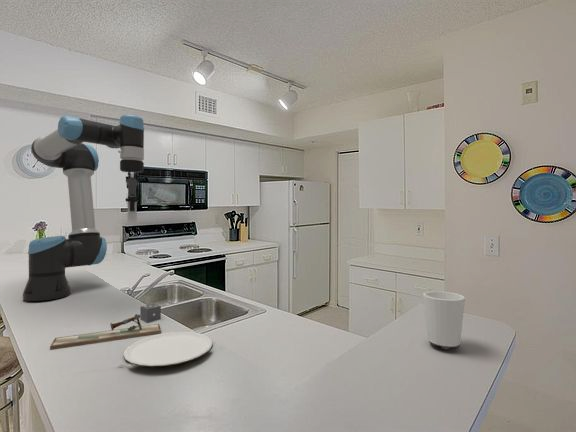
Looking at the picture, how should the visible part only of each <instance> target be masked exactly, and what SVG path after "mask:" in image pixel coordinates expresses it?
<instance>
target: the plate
mask: <svg viewBox="0 0 576 432" xmlns="http://www.w3.org/2000/svg"><path fill="white" fill-rule="evenodd" d="M212 346H213V341H212V339H211V337H209V336H208V335H206V334H204V333H201V332H194V331H193V332H192V331H171V332H163V333H160V334H153V335H149V336H147V337H144V338H142V339H138V340H136V341H135V342H133V343H132V344H130V345H128V347H127V348H126V349H125V350H124V352H123V357H124V360H125V361H127V362H128V363H129V364H131V365H134V366H139V367H147V368H158V367H163V368H164V367H168V366H175V365H181V364H185V363H188V362H191V361H194V360H196V359H198V358H200V357H202V356H204V355H206V354H207V353H208V352H209V351H210V350H211V349H212Z"/></svg>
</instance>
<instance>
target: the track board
mask: <svg viewBox="0 0 576 432" xmlns="http://www.w3.org/2000/svg"><path fill="white" fill-rule="evenodd" d="M128 328H129V327H126V328H119V329H118V328H117V329H114V330H113V331H112V329H111V330H104V331H96V332H89V333H82V334H75V335H74V334H73V335H67V336H61V337H60V336H59V337H58V336H57V337H55V338H54V339H53V340H52V343H51V344H50V346H49V350H51V351H52V350H58V349H64V348H65V349H66V348H69V347H71V348H72V347H78V346H83V345H91V344H98V343H104V342H109V341H110V342H111V341H117V340H125V339H126V340H127V339H131V338H139V337H145V336H153V335H158V334H162V329H161V325H160V323H157V324H148V325H141V328H142V329H140V328H139V326H138V327H137V328H135V330H134V329H133V330H131V331H130V330H128Z"/></svg>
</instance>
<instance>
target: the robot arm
mask: <svg viewBox="0 0 576 432" xmlns="http://www.w3.org/2000/svg"><path fill="white" fill-rule="evenodd" d="M144 139H145V126H144V119H143V118H142V117H141V116H139V115H134V114H127V113H126V114H122V115H121V116H120V118H119V124H117V125H113V124H109V123H103V122H98V121H95V120H94V121H93V120H89V119H84V118H80V117H77V116H69V115H62V116H61V117H59V120H58V123H57V129H55V130H54V131H52V132H51V133H50V134H48V135H42V136H39V137H37V138H36V139H34V140H33V141H32V143H31V145H30V146H31V147H30V148H31V149H30V151H31V153H32V156H33V157H34V158H35V160H37V161H38V162H39V163H41V164H42V165H45V166H48V167H51V168H58V169H59V168H60V169H62V173H63V175H64V176H65V177H67V185H68V197H69V198H68V199H69V207H70V208H69V209H70V220H71V221H70V222H71V232H70V233H68V235H67V236H68V238H66V236H64V235H57V236H56V235H55V236H48V237H46V236H45V237H41V238H36V239H33V240H31V241H29V244H28V252H27V254H28V279H27V281H26V285H25V288H24V289H23V293H22V300H24V301H27V302H28V301H29V302H38V301H39V302H40V301H48V300H55V299H60V298H64V297H67V296H70V295H71V286H70V284H69V281H68V278H67V277H66V269H67V268H75V267H76V268H77V267H85V266H92V265H98V264H100V263H102V262H103V261H104V259H105V257H106V256H107V255H106V254H107V249H108V244H107V240H106V238H104V237H102V236H101V233H100V231H98V230H97V229H96V220H95V213H94V212H95V211H94V199H93V189H92V188H93V187H92V176H93V175H94V174H95V171H97V170H98V169H99V154H98V152H97V150H96V148H94V146H92V145H90V144H95V145H101V146H106V147H107V148H110V149H117V150H118V151H117V152H118V153H119V155H120V157H119V158H120V159H121V160H120V161H119V170H120V171H121V172H122V173H127V175H126V176H125V183H126V189H127V197H126V198H125V202H127V222H137V221H138V220H137V218H138V217H137V213H138V212H137V207H138V206H137V205H138V203H139V202H138V201H139V200H138V199H137V198H138V196H137V189H138V185H139V176H137V173H138V174H139V173H143V172H144V171H145V169H144V168H145V167H144V165H145V163H144V160H145V149H144V145H145V140H144ZM85 143H87V144H85ZM88 143H90V144H88Z"/></svg>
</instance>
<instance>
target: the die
mask: <svg viewBox="0 0 576 432" xmlns="http://www.w3.org/2000/svg"><path fill="white" fill-rule="evenodd" d="M139 309H140V310H139V311H140V314H139V315H142V317H140V318H139V321H142V322H144V323H146V324H148V323H152V322H155V321H158V320H161V318H162V317H161V316H162V313H161V312H162V308H161V305H159V304H156V303H151V304H146V305H141V306H140V307H139Z"/></svg>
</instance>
